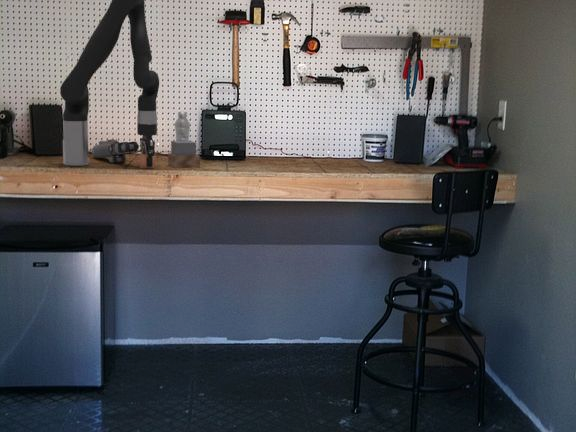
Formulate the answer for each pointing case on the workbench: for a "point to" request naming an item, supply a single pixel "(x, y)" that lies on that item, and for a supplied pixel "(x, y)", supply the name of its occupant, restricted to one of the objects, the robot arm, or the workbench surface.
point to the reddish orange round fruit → (145, 161)
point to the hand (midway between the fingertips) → (147, 165)
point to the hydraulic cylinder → (114, 150)
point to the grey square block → (183, 148)
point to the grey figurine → (182, 127)
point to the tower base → (183, 161)
